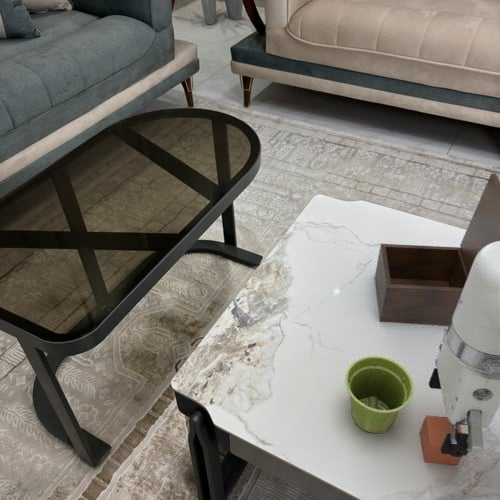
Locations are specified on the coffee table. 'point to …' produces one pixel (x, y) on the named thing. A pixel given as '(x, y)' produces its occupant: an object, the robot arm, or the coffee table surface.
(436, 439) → the block
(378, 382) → the plant pot
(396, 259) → the chest
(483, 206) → the lid
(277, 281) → the coffee table surface
